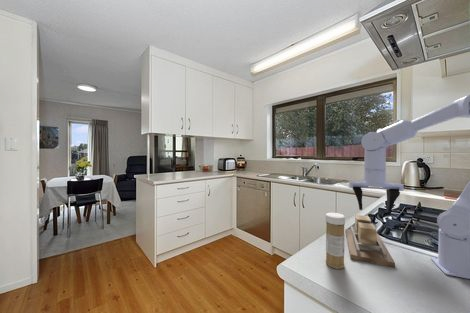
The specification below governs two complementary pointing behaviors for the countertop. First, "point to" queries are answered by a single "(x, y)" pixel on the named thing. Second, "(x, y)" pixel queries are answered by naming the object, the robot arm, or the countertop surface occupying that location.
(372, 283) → the countertop surface
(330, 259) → the sprinkles bottle
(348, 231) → the rail board
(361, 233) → the block
